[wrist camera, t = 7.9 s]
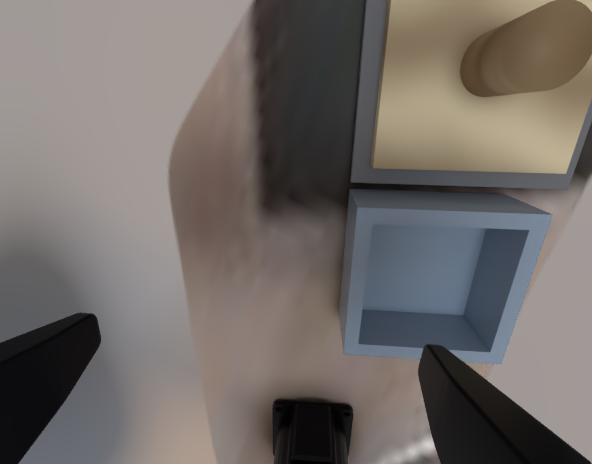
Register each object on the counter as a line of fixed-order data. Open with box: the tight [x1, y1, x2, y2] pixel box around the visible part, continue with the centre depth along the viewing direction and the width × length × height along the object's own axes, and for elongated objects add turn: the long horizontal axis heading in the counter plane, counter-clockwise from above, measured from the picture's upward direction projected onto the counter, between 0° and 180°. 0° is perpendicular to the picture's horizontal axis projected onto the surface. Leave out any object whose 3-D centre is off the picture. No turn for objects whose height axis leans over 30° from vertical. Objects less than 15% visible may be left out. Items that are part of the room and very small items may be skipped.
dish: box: [339, 189, 552, 364], centre depth 18 cm, size 9×9×4 cm
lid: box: [371, 0, 592, 174], centre depth 13 cm, size 10×10×5 cm
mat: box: [350, 0, 592, 190], centre depth 15 cm, size 12×12×1 cm
